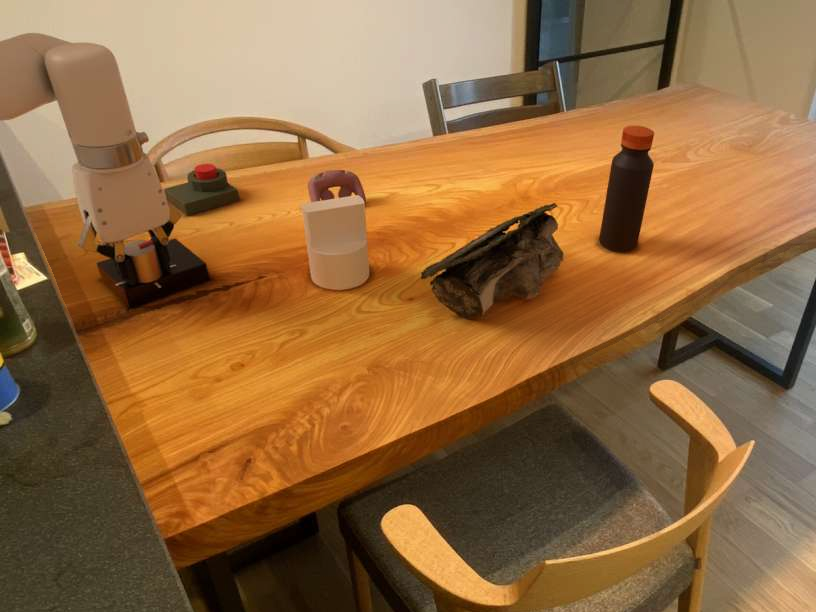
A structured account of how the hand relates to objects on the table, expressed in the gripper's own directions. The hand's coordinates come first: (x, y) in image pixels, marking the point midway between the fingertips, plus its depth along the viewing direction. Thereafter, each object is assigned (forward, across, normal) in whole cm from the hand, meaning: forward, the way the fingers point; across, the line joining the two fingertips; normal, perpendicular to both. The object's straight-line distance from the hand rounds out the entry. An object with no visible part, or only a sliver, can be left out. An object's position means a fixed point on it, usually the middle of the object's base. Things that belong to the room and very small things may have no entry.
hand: (146, 273), depth 100 cm
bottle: (+4, -63, +42) cm, 76 cm away
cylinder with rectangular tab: (+4, -22, +16) cm, 28 cm away
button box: (+3, -23, -22) cm, 31 cm away
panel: (+3, -2, -2) cm, 4 cm away
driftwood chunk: (+4, -35, +36) cm, 51 cm away
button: (0, -25, -22) cm, 33 cm away
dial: (0, 0, 0) cm, 0 cm away
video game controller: (+4, -39, -4) cm, 39 cm away
